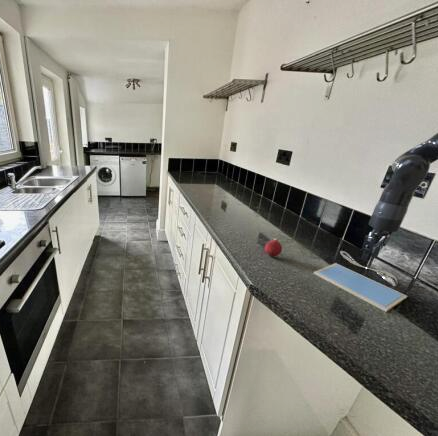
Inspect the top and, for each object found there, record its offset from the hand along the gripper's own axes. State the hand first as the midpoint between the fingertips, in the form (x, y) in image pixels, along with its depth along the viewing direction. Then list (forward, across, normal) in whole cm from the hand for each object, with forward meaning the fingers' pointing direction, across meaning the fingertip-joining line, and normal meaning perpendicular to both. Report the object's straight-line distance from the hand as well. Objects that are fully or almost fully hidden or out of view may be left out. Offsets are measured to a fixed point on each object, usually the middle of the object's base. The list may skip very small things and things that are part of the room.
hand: (368, 258), depth 84 cm
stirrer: (+5, 0, 0) cm, 5 cm away
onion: (+4, -25, +20) cm, 33 cm away
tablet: (+4, -14, -4) cm, 15 cm away
